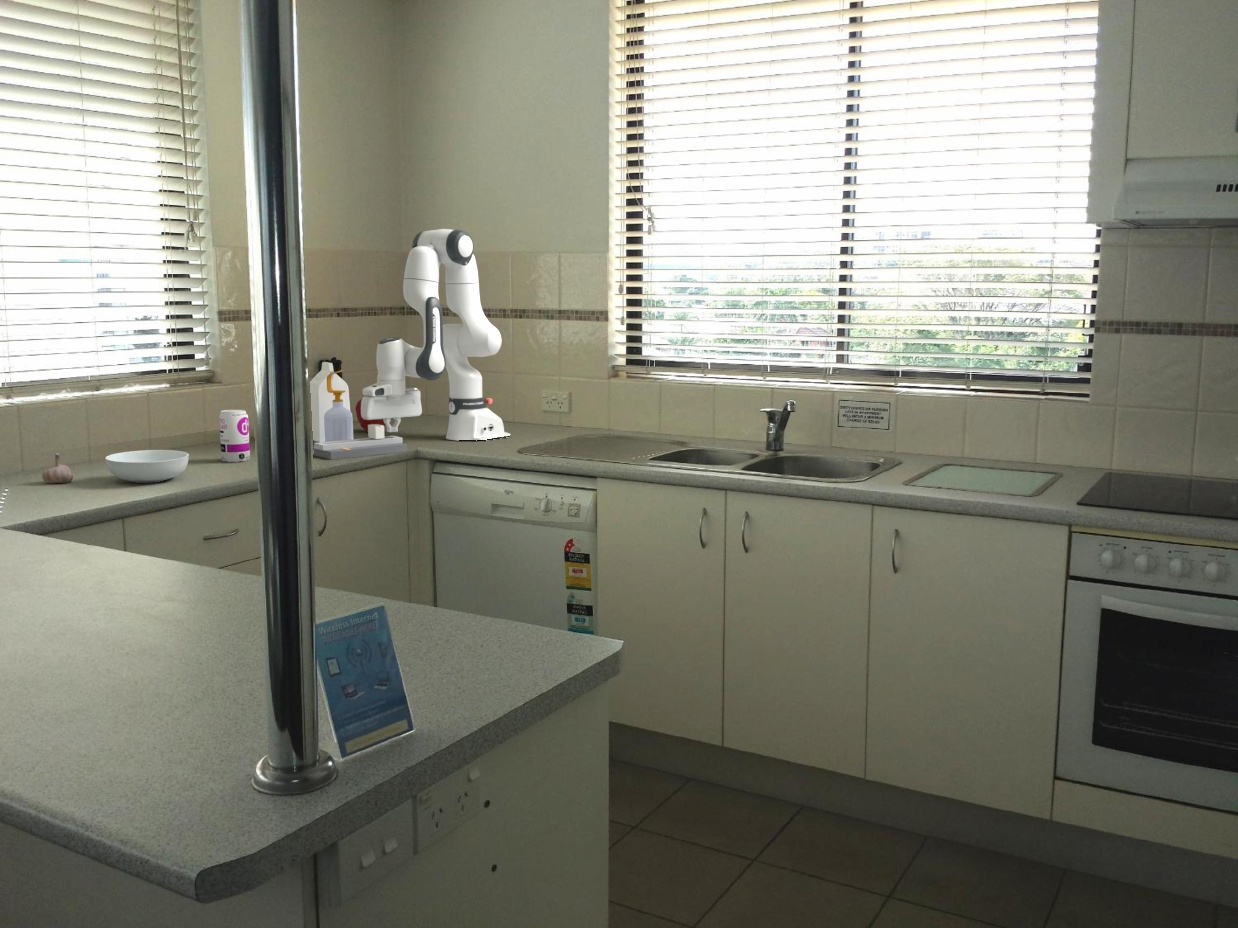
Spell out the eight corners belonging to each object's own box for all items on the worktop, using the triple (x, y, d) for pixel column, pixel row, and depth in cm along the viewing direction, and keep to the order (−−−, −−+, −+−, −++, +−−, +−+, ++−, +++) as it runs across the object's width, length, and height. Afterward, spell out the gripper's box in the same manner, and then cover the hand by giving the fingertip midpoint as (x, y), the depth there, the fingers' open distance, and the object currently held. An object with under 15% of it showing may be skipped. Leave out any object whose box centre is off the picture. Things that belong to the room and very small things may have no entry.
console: (387, 446, 369) (387, 434, 368) (409, 451, 358) (408, 439, 358) (309, 454, 352) (308, 441, 351) (329, 459, 341) (328, 446, 340)
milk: (352, 439, 384) (350, 363, 380) (319, 442, 378) (316, 364, 374) (340, 435, 394) (337, 361, 390) (307, 438, 388) (304, 362, 383)
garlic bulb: (78, 483, 302) (76, 453, 300) (49, 486, 296) (47, 456, 295) (66, 479, 306) (64, 450, 305) (37, 483, 301) (35, 453, 300)
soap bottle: (349, 447, 367) (347, 371, 364) (321, 446, 368) (318, 371, 364) (356, 443, 376) (354, 369, 372) (329, 442, 376) (326, 369, 373)
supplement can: (255, 459, 341) (253, 410, 339) (238, 463, 334) (235, 412, 331) (233, 457, 344) (230, 408, 342) (215, 462, 336) (212, 411, 334)
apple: (349, 432, 403) (348, 395, 400) (373, 429, 412) (372, 392, 410) (372, 435, 396) (371, 397, 394) (397, 431, 405) (396, 394, 403)
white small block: (376, 441, 361) (376, 423, 360) (384, 443, 357) (384, 425, 356) (368, 442, 359) (367, 424, 358) (376, 444, 355) (375, 426, 355)
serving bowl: (106, 489, 292) (104, 463, 291) (107, 476, 311) (105, 452, 310) (192, 484, 300) (190, 458, 299) (187, 472, 319) (186, 447, 318)
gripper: (415, 386, 368) (416, 428, 370) (357, 389, 355) (359, 433, 357) (425, 387, 363) (426, 430, 366) (367, 391, 350) (368, 435, 353)
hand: (392, 432), depth 361 cm, fingers closed
